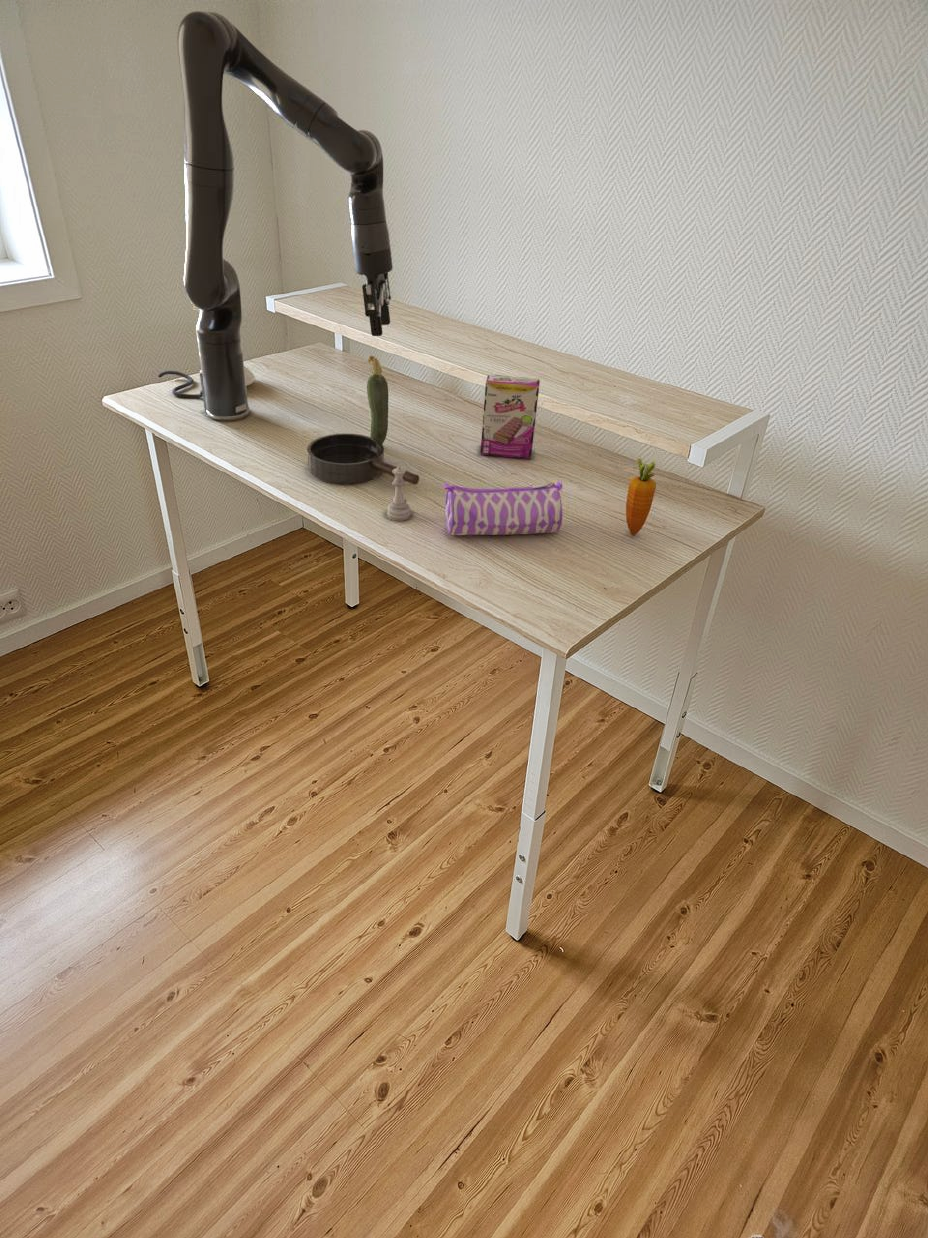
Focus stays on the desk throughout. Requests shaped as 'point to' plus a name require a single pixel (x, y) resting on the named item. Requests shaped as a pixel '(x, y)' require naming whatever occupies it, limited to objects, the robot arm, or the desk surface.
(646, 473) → the carrot
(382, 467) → the pan handle
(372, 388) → the vegetable
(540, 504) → the pencil case
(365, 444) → the pan
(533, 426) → the candy bar box
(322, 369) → the desk surface
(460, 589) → the desk surface
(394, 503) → the chess piece
